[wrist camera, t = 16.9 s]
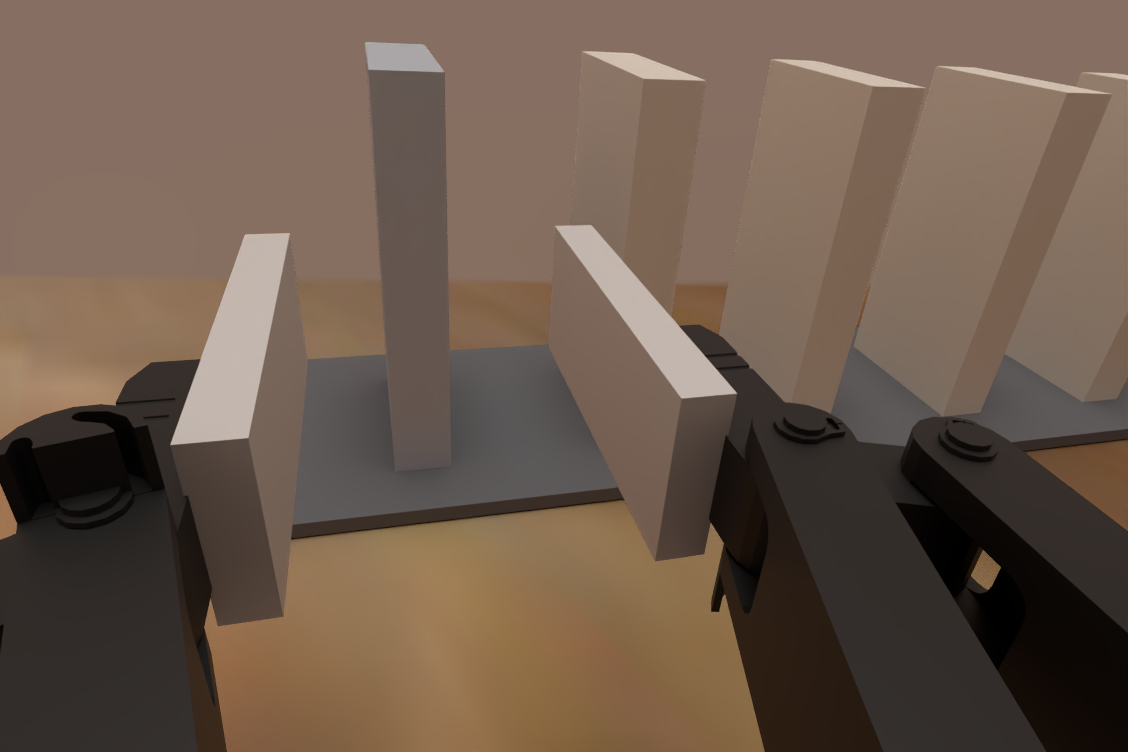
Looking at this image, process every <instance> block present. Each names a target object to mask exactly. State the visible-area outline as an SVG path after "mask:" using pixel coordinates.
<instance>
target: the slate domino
mask: <svg viewBox="0 0 1128 752" xmlns="http://www.w3.org/2000/svg"><path fill="white" fill-rule="evenodd" d="M365 52H366V66H367V82H368V97H369V112H370V127H371V140H372V141H371V142H372V156H373V171H374V186H375V200H376V216H377V231H378V245H379V260H380V275H381V290H382V305H383V320H384V335H385V350H386V365H387V379H388V391H389V404H390V416H391V428H392V440H393V452H394V464H395V472H399V471H409V470H419V469H430V468H440V467H450V466H451V410H450V354H449V297H448V243H447V241H448V240H447V185H446V129H445V76H444V75H445V74H444V71H443V69H442V68H441V67H440V65H439V64H438V63H437V61H436V60H435V59H434V57H433V56H432V55H431V53H430V52H429V51H428V49H427V48H426V47H425V45H419V44H397V43H373V42H365Z"/></svg>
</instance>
